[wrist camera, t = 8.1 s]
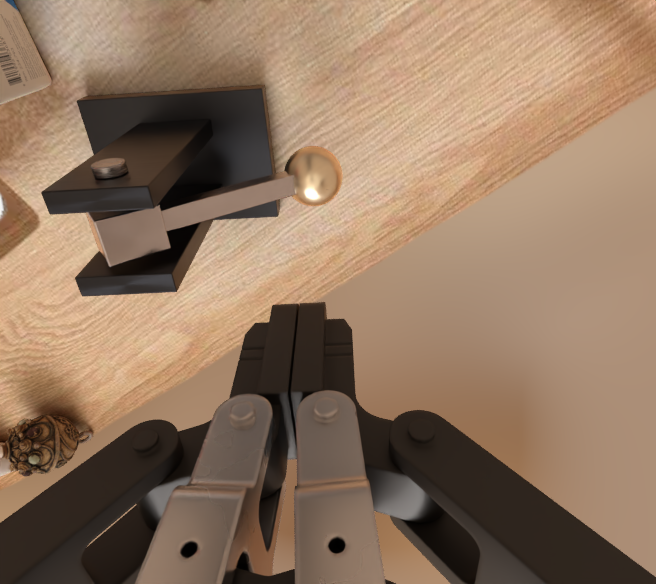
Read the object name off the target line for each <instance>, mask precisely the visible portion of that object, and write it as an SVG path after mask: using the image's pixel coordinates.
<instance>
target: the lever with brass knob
mask: <svg viewBox="0 0 656 584" xmlns="http://www.w3.org/2000/svg"><path fill="white" fill-rule="evenodd" d="M341 184H342V168H341V166H340V163H339V161H338V160H337V158H336V157H335V156H334V155H333V154H332V153H331V152H330V151H328V150H326V149H325V148H322V147H318V146H308V147H304V148H302V149H299V150H298V151H296V152H295V153H294V154H293V155H292V156H291V157H290V158H289V160H288V162H287V164H286V166H285V170H284V172H280V173H276V174H272V175H268V176H264V177H260V178H257V179H253V180H249V181H245V182H241V183H237V184H234V185H230V186H226V187H222V188H218V189H214V190H211V191H207V192H203V193H199V194H195V195H191V196H188V197H184V198H180V199H176V200H172V201H168V202H165V203H161V204H157V206H156V207H155V208H154V209H140V210H122V211H104V212H86V215H87V218H88V221H89V224H90V227H91V229H92V232H93V235H94V238H95V241H96V244H97V246H98V249H99V250H100V252H101V254H102V256H103V257H104V259H105V261H106V262H107V264H108V266H109V267H112V266H115V265H118V264H122V263H125V262H128V261H131V260H135V259H138V258H141V257H145V256H148V255H151V254H154V253H158V252H161V251H164V250H168V249H170V248H171V246H170V242H169V239H168V235H167V232H168V231H171V230H174V229H178V228H181V227H185V226H188V225H192V224H195V223H199V222H202V221H206V220H209V219H213V218H216V217H220V216H223V215H227V214H230V213H234V212H237V211H240V210H244V209H247V208H251V207H254V206H258V205H261V204H265V203H268V202H272V201H275V200H279V199H282V198H286V197H289V196H292V197H293V198H294V199H295V200H296V201H298V202H299V203H301V204H304V205H307V206H320V205H323V204H326V203H328V202H329V201H331V200H332V199H333V198H334V197H335V196H336V195H337V193H338V192H339V190H340V187H341Z"/></svg>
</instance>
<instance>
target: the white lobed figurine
mask: <svg viewBox="0 0 656 584" xmlns="http://www.w3.org/2000/svg"><path fill="white" fill-rule="evenodd" d="M4 444H5V443H3V442H0V446H1V445H4ZM10 464H11V463H10V462H9V459H5V458H2V459H1V458H0V476H3V475H5V474H7V473H10V472H11V471H10V469H9V468H10ZM12 472H13V471H12Z"/></svg>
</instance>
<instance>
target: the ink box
mask: <svg viewBox="0 0 656 584" xmlns="http://www.w3.org/2000/svg"><path fill="white" fill-rule="evenodd" d="M51 83H52V80H51V77H50V75H49V73H48V71H47V69H46V67H45V65H44V63H43V61H42V59H41V57H40V55H39V53H38V50H37V48H36V46H35V44H34V42H33V40H32V38H31V36H30V34H29V32H28V30H27V27H26V25H25V23H24V21H23V19H22V17H21V15H20V13H19V11H18V9H17V7H16V5H15V3H14V0H0V105H1V104H3V103H6V102H8V101H11V100H14V99H16V98H19V97H22V96H25V95H28V94H31V93H33V92H36V91H39V90H41V89H44V88H46V87H48V86H49V85H50V84H51Z"/></svg>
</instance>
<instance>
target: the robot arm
mask: <svg viewBox="0 0 656 584" xmlns="http://www.w3.org/2000/svg"><path fill="white" fill-rule="evenodd" d="M239 359H240V360H239V362H238V366H237V370H236V374H235V378H234V382H233V386H232V390H231V394H230V398H229V399H228V400H226V401H225V402H223V403H222V404H221V405H220V406H219V407H218V409H217V410H216V411H215V413H214V416H213V418H212V420H210V421H209V422H207V423H205V424H202V425H199V426H196V427H193V428H189V429H186V430H182V431H179V432H178V431H177V429H176V427H175V426H174V425H173V424H172V423H170V422H168V421H164V420H149V421H145V422H143V423H140V424H138V425H136V426H134V427H132V428H131V429H129V430H128V431H126V432H125V433H124V434H122V435H121V436H120V437H118V438H117V439H115V440H114V441H113V442H111V443H110V444H108V445H107V446H106V447H104V448H103V449H102V450H100V451H99V452H97V453H96V454H95V455H93V456H92V457H91V458H89V459H88V460H87V461H85V462H84V463H82V464H81V465H80V466H78V467H77V468H75V469H74V470H73V471H71V472H70V473H69V474H67V475H66V476H64V477H63V478H62V479H60V480H59V481H58V482H56V483H55V484H53V485H52V486H51V487H49V488H48V489H46V490H45V491H44V492H42V493H41V494H40V495H38V496H37V497H35V498H34V499H33V500H32V501H30V502H29V503H27V504H26V505H25V506H23V507H22V508H20V509H19V510H18V511H16V512H15V513H13V514H12V515H11V516H9V517H8V518H6V519H5V520H4V521H2V522H1V523H0V584H396V583H393V582H391V581H388V580H386V579H385V577H384V570H383V564H382V559H381V552H380V545H379V539H378V533H377V527H376V520H375V514H374V511H376V512H380V513H384V514H387V515H390V517H391V520H392V521H393V523H394V525H395V526H396V527H397V528H398V529H399V530H400V531H401V532H402V533H403V534H404V535H405V537H406V538H408V540H409V541H410V542H411V543H413V545H414V546H415V547H416V548H417V549H418V550H419V551H420V552H421V553H422V554H423V555H424V556H425V557H426V558H427V559H428V560H429V561H430V562H431V563H432V565H433V566H434V567H435V568H436V569H437V570H438V571H439V572H440V573H441V574H442V575H443V576H444V577H445V578H446V579H447V580H448V581H449V582H450V583H451V584H656V577H655V576H653V575H652V574H650V573H649V572H648V571H647V570H645V569H644V568H643V567H641V566H640V565H639V564H637V563H636V562H635V561H633V560H632V559H630V558H629V557H628V556H627V555H625V554H624V553H623V552H621V551H620V550H619V549H617V548H616V547H615V546H613V545H612V544H611V543H609V542H608V541H607V540H605V539H604V538H602V537H601V536H600V535H598V534H597V533H596V532H595V531H593V530H592V529H591V528H589V527H588V526H586V525H585V524H584V523H582V522H581V521H580V520H578V519H577V518H576V517H574V516H573V515H572V514H570V513H569V512H568V511H566V510H565V509H564V508H562V507H561V506H560V505H558V504H557V503H556V502H554V501H553V500H552V499H550V498H549V497H548V496H546V495H545V494H544V493H542V492H541V491H540V490H538V489H537V488H536V487H534V486H533V485H532V484H530V483H529V482H528V481H526V480H525V479H523V478H522V477H521V476H519V475H518V474H517V473H516V472H514V471H513V470H512V469H510V468H509V467H508V466H506V465H505V464H503V463H502V462H501V461H500V460H498V459H497V458H496V457H494V456H493V455H492V454H490V453H489V452H488V451H486V450H485V449H484V448H482V447H481V446H480V445H478V444H477V443H475V442H474V441H473V440H471V439H470V438H469V437H468V436H466V435H465V434H463V433H462V432H461V431H459V430H458V429H457V428H455V427H454V426H453V425H451V424H450V423H449V422H447V421H446V420H445V419H443V418H442V417H440V416H439V415H437V414H435V413H432V412H429V411H423V410H414V411H408V412H405V413H403V414H401V415H399V416H398V417H397V418H396V419H395V420H394V421H391V420H387V419H383V418H379V417H376V416H373V415H371V414H370V413H368V412H366V411H365V410H364V409H363V408H362V407H361V406H360V405H359V403H358V402H357V399H356V395H355V381H354V361H353V342H352V329H351V328H350V327H349V325H348V324H347V322H346V321H345V320H344V319H327V317H326V305H325V302H321V303H320V302H319V303H300V305H299V304H281V305H273V306H272V310H271V316H270V321H269V322H268V323H255V324H254V325H253V326H252V327H251V329H250V330H249V331H248V332H247V333H246V334H245V338H244V342H243V346H242V350H241V354H240V358H239ZM287 459H297V486H295V492H294V515H295V569H293V570H289V571H286V572H283V573H279V574H276V575H273V560H274V553H275V547H276V542H277V536H278V530H279V525H280V519H281V513H282V508H283V502H284V497H285V491H286V481H285V477H286V469H287ZM135 504H137V505H136V506H135V507H134V508H133V509H132V510H130V511H129V512H128V513H127V514H126V515H125V516H123V517H122V518H121V519H120V520H119V521H117V522H116V523H115V524H114V525H113V526H111V527H110V528H109V529H108V530H107V531H106V532H104V533H103V534H102V535H101V536H100V537H98V538H97V539H96V540H95V541H94V542H93V543H91V544H90V545H89V543H90V542H91V541H92V540H93V539H95V538H96V537H97V536H98V535H99V534H100V533H102V532H103V531H104V530H105V529H106V528H108V527H109V526H110V525H111V524H112V523H114V522H115V521H116V520H117V519H118V518H120V517H121V516H122V515H123V514H124V513H125V512H127V511H128V510H129V509H130V508H131V507H133V506H134V505H135ZM88 545H89V546H88ZM87 546H88V547H87ZM86 547H87V548H86Z"/></svg>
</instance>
